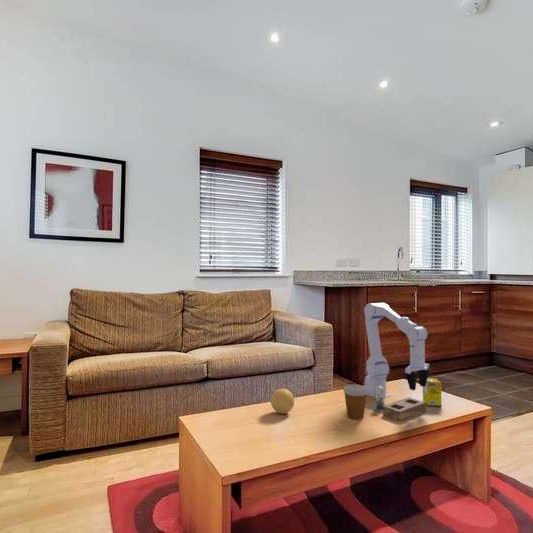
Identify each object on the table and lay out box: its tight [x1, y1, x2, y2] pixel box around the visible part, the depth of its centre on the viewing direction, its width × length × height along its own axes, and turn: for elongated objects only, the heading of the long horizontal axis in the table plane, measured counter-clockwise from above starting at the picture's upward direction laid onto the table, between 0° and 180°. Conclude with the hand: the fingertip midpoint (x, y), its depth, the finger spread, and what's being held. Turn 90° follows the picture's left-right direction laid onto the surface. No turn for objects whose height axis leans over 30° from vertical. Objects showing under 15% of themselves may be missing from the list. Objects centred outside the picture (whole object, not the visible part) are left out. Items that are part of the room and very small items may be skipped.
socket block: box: [382, 397, 427, 422], centre depth 155 cm, size 8×18×4 cm, turn 126°
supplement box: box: [422, 378, 442, 408], centre depth 166 cm, size 6×6×11 cm
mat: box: [364, 403, 386, 415], centre depth 161 cm, size 9×10×1 cm
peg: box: [375, 386, 385, 409], centre depth 162 cm, size 3×3×9 cm
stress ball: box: [270, 388, 295, 415], centre depth 157 cm, size 10×10×10 cm
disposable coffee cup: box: [343, 383, 367, 420], centre depth 152 cm, size 10×10×12 cm
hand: (417, 387), depth 158 cm, fingers open, 7 cm apart
